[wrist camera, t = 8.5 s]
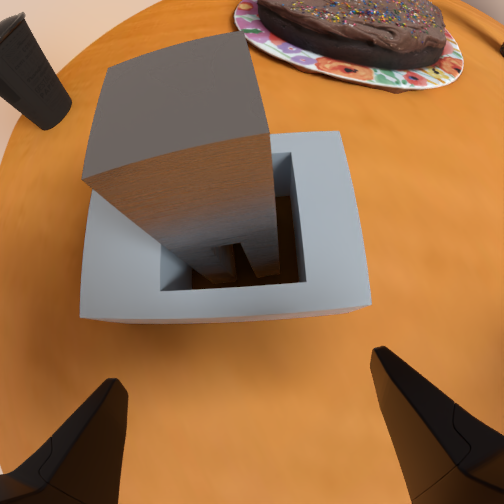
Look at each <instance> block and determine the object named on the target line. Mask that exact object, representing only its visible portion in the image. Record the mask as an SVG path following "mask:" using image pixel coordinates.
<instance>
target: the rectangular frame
mask: <svg viewBox="0 0 504 504" xmlns="http://www.w3.org/2000/svg"><path fill="white" fill-rule="evenodd" d="M270 142H271V154H272V166H273V178H274V191H275V197H282V196H290V199H291V208H292V217H293V226H294V236H295V246H296V256H297V266H298V278H299V283H288V284H275V285H262V286H247V287H232V288H216V289H198V290H192V267H190V266H189V265H188V264H186V263H185V262H184V261H182V260H181V259H180V258H178V257H177V256H176V255H175V254H173V253H172V252H171V251H169V250H168V249H167V248H165V247H164V246H163V245H162V244H160V243H159V242H158V241H156V240H155V239H154V238H153V237H151V236H150V235H149V234H147V233H146V232H145V231H144V230H142V229H141V228H140V227H139V226H137V225H136V224H135V223H134V222H132V221H131V220H130V219H129V218H127V217H126V216H125V215H124V214H122V213H121V212H120V211H119V210H117V209H116V208H115V207H114V206H113V205H111V204H110V203H109V202H108V201H106V200H105V199H104V198H103V197H102V196H100V195H99V194H98V193H97V192H96V191H94V190H93V189H92V194H91V200H90V206H89V212H88V218H87V225H86V233H85V241H84V250H83V261H82V273H81V290H80V318H86V319H93V320H100V321H108V322H116V323H125V324H192V323H224V322H245V321H262V320H277V319H290V318H302V317H313V316H323V315H333V314H342V313H349V312H352V311H355V310H358V309H361V308H363V307H366V306H369V305H372V302H371V293H370V284H369V276H368V269H367V262H366V255H365V248H364V242H363V236H362V230H361V225H360V219H359V214H358V209H357V204H356V199H355V194H354V189H353V184H352V180H351V176H350V171H349V167H348V163H347V159H346V155H345V151H344V147H343V143H342V139H341V136H340V132H339V131H320V132H298V133H283V134H270Z"/></svg>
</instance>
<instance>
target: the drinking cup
mask: <svg viewBox="0 0 504 504" xmlns="http://www.w3.org/2000/svg"><path fill="white" fill-rule="evenodd" d="M24 17H25V13H24V12H22V13H19V14H18V15H14V16H11V17H9V18H6V19H4V20H2V21H1V22H0V96H1V97H2V98H3V99H4V100H6V101H7V102H8V103H9V104H11V105H12V106H13V107H14V108H16V109H17V110H18V111H19V112H21V113H22V114H23V115H24V116H26V117H27V118H28V119H30V120H31V121H32V122H33V123H35V124H36V125H37V126H39V127H40V128H41V129H42V130H48V129H51V128H53V127H54V126H56V125H57V124H58V123H59V122H60V121H61V120H62V119H63V118H64V117H65V116H66V114H67V113H68V111H69V110H70V108H71V105H72V100H71V98H70V97H69V95H68V93H67V92H66V90H65V89H64V87H63V85H62V84H61V82H60V81H59V79H58V77H57V76H56V74H55V72H54V71H53V69H52V67H51V66H50V64H49V62H48V60H47V59H46V57H45V55H44V54H43V52H42V50H41V48H40V47H39V45H38V43H37V41H36V39H35V38H34V36H33V34H32V32H31V30H30V28H29V27H28V25H27V23H26V21H25V19H24Z"/></svg>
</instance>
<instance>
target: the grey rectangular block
mask: <svg viewBox="0 0 504 504" xmlns="http://www.w3.org/2000/svg"><path fill="white" fill-rule="evenodd" d="M81 180H83V181H84V182H85V183H86V184H87V185H88V186H90V187H91V188H92V189H93V190H94V191H96V192H97V193H98V194H99V195H100V196H102V197H103V198H104V199H105V200H106V201H108V202H109V203H110V204H111V205H113V206H114V207H115V208H116V209H117V210H119V211H120V212H121V213H122V214H124V215H125V216H126V217H127V218H129V219H130V220H131V221H132V222H134V223H135V224H136V225H137V226H139V227H140V228H141V229H142V230H144V231H145V232H146V233H147V234H149V235H150V236H151V237H153V238H154V239H155V240H156V241H158V242H159V243H160V244H162V245H163V246H164V247H165V248H167V249H168V250H169V251H171V252H172V253H173V254H175V255H176V256H177V257H178V258H180V259H181V260H182V261H184V262H185V263H186V264H188V265H189V266H190V267H192V268H193V269H194V270H196V271H197V272H198V273H200V274H201V275H202V276H204V277H205V278H207V279H208V280H209V281H211V282H212V283H213V284H220V283H227V282H233V281H237V276H236V269H235V261H234V253H233V245H232V244H235V243H241V245H242V248H243V250H244V252H245V254H246V256H247V258H248V260H249V262H250V265H251V267H252V269H253V271H254V273H255V275H256V277H257V278H259V277H265V276H271V275H277V274H280V265H279V249H278V233H277V218H276V204H275V191H274V178H273V166H272V154H271V142H270V132H269V128H268V123H267V119H266V115H265V111H264V107H263V103H262V99H261V95H260V91H259V87H258V83H257V79H256V75H255V71H254V67H253V63H252V60H251V56H250V52H249V49H248V45H247V41H246V38H245V34H244V30H242V31H236V32H230V33H225V34H220V35H215V36H210V37H205V38H201V39H196V40H192V41H188V42H184V43H181V44H177V45H173V46H170V47H166V48H163V49H160V50H157V51H153V52H150V53H147V54H144V55H141V56H139V57H136V58H133V59H130V60H127V61H125V62H122V63H120V64H117V65H115V66H112V67H110V68H108V70H107V73H106V76H105V80H104V83H103V86H102V89H101V93H100V96H99V100H98V103H97V107H96V111H95V115H94V119H93V123H92V127H91V131H90V136H89V141H88V145H87V150H86V156H85V161H84V167H83V173H82V179H81Z"/></svg>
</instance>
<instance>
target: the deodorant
mask: <svg viewBox="0 0 504 504" xmlns="http://www.w3.org/2000/svg"><path fill="white" fill-rule="evenodd" d="M500 52H501V54H502V55H503V56H504V43H503V45H502V46H501V48H500Z"/></svg>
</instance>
